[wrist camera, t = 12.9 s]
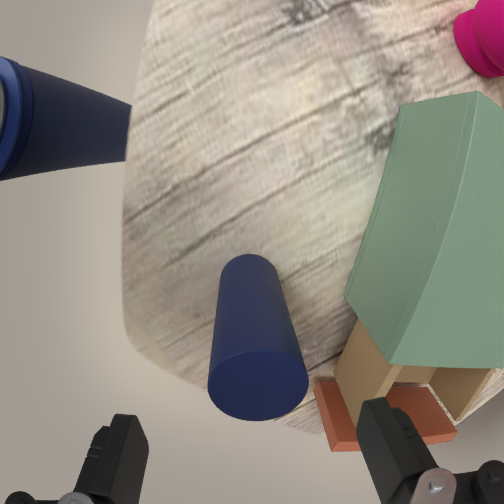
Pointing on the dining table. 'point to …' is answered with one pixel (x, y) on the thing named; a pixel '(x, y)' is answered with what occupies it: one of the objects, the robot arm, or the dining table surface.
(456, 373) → the drawer
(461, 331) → the cabinet
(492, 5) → the pepper mill
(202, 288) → the dining table surface
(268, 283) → the blue cylinder
